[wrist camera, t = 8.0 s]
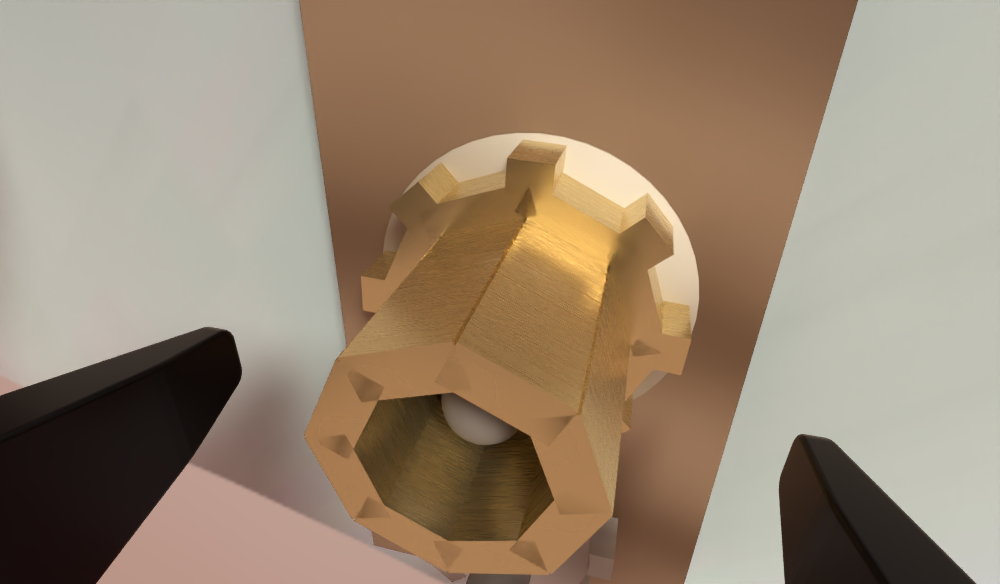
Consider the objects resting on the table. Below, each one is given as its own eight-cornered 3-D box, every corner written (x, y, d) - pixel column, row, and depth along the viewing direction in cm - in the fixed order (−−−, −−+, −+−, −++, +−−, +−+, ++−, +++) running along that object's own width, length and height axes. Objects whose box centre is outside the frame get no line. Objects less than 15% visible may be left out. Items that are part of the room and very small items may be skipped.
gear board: (672, 573, 17) (673, 808, 12) (393, 506, 19) (300, 689, 14) (917, -310, 8) (1338, -780, 3) (311, -269, 9) (-54, -512, 5)
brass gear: (448, 419, 14) (355, 610, 10) (345, 188, 12) (163, 311, 7) (708, 396, 12) (729, 631, 8) (647, 104, 9) (631, 213, 5)
